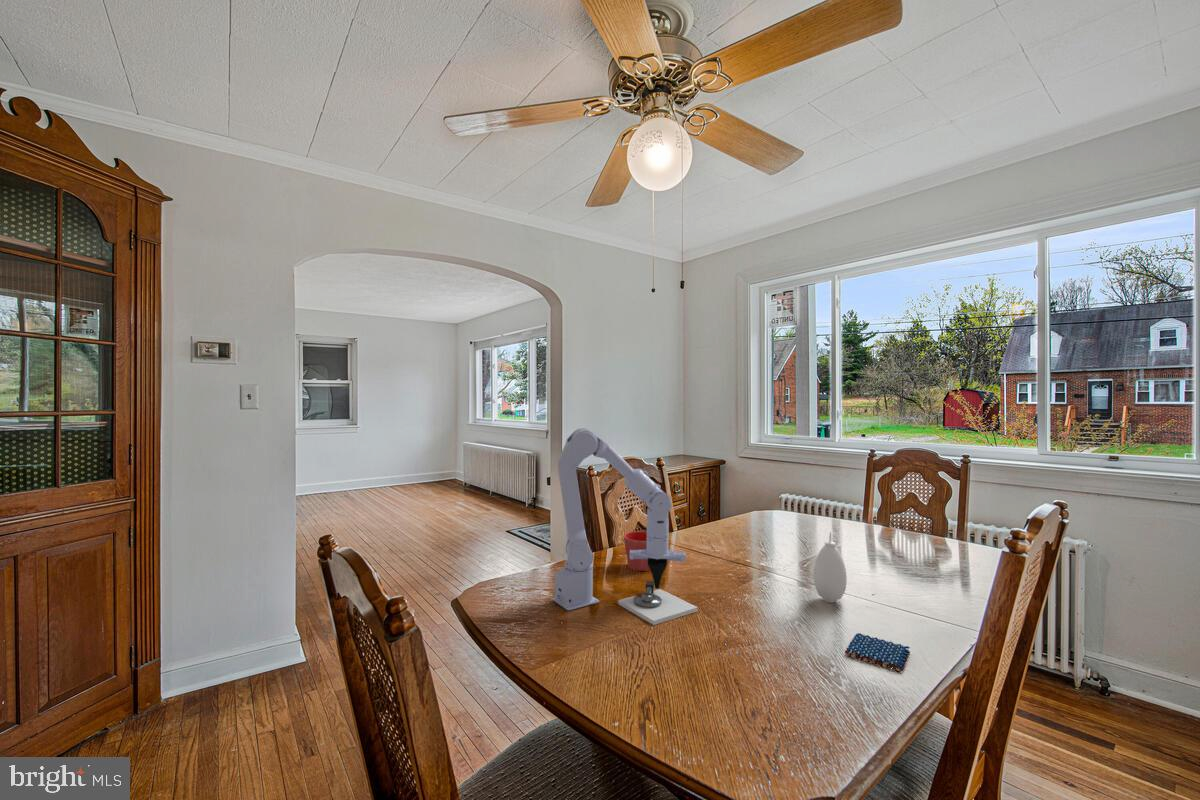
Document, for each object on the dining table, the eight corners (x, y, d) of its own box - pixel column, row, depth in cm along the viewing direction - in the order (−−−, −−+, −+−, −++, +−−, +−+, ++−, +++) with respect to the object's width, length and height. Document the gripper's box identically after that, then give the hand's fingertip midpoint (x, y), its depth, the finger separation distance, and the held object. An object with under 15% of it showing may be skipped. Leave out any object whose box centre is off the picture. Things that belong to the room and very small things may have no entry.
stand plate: (653, 625, 116) (653, 620, 116) (618, 604, 128) (618, 599, 128) (697, 611, 124) (697, 606, 124) (660, 592, 136) (660, 588, 136)
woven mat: (854, 639, 111) (854, 630, 111) (910, 655, 105) (910, 645, 105) (842, 658, 103) (842, 648, 103) (902, 676, 97) (902, 665, 97)
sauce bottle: (850, 608, 126) (850, 537, 126) (816, 606, 128) (817, 535, 128) (841, 596, 134) (842, 529, 134) (810, 594, 135) (811, 527, 135)
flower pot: (647, 575, 149) (647, 542, 148) (616, 567, 155) (617, 536, 155) (665, 566, 157) (665, 535, 157) (635, 559, 164) (636, 529, 164)
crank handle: (660, 608, 122) (660, 598, 122) (631, 605, 124) (631, 596, 124) (663, 590, 133) (664, 581, 133) (637, 588, 135) (637, 579, 135)
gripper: (685, 532, 135) (684, 583, 135) (631, 530, 137) (630, 580, 137) (685, 540, 128) (685, 593, 128) (629, 537, 130) (628, 589, 130)
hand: (657, 587), depth 132 cm, fingers closed
